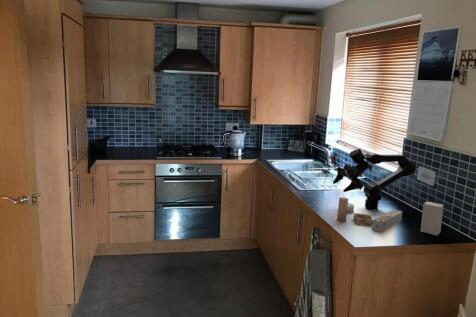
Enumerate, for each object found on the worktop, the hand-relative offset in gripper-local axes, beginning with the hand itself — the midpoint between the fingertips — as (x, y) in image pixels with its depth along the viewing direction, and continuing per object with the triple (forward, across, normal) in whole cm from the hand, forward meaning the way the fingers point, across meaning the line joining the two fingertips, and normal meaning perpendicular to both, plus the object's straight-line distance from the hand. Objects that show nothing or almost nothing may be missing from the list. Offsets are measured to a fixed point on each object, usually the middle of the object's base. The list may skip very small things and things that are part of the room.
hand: (338, 187), depth 230 cm
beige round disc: (+5, +6, +12) cm, 14 cm away
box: (-3, +31, +11) cm, 33 cm away
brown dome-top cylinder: (+13, +18, 0) cm, 22 cm away
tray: (+5, +24, +6) cm, 25 cm away
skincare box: (-16, +45, +18) cm, 51 cm away
